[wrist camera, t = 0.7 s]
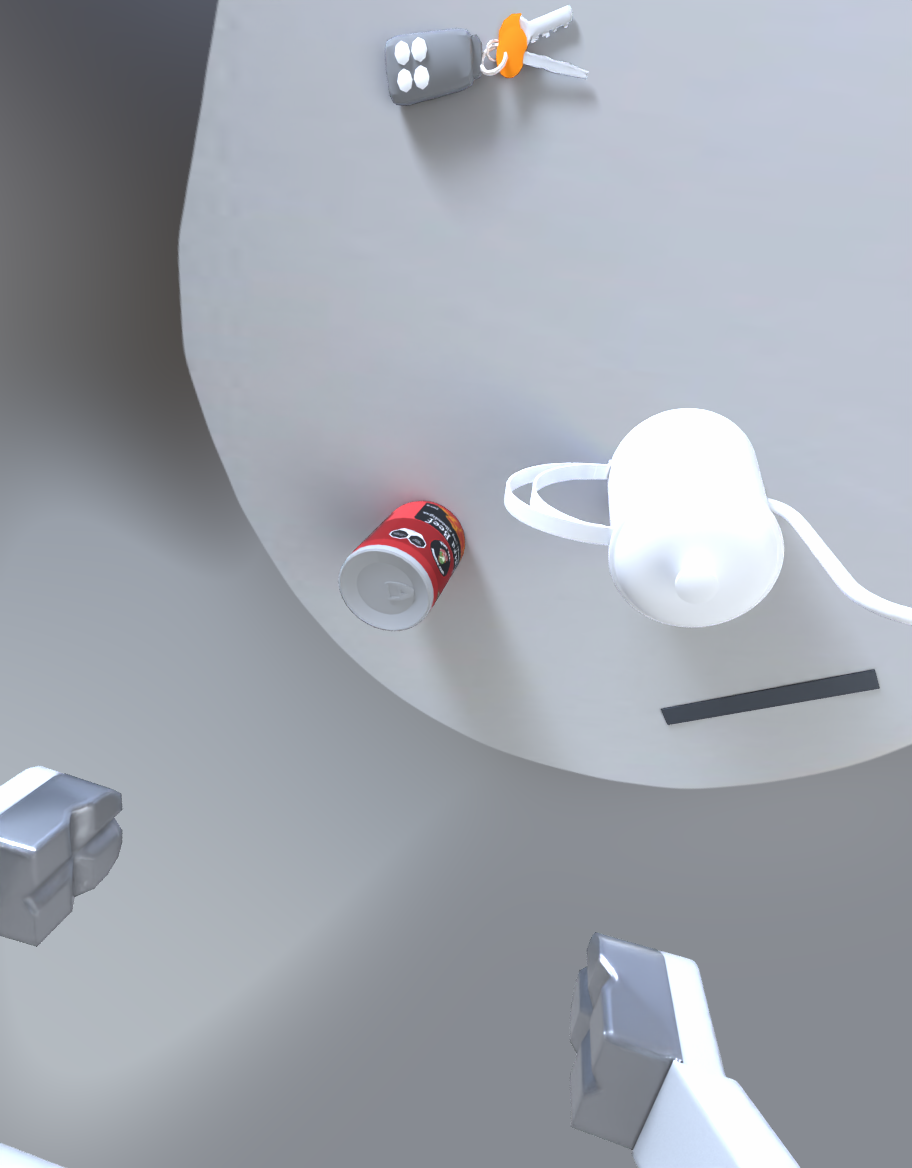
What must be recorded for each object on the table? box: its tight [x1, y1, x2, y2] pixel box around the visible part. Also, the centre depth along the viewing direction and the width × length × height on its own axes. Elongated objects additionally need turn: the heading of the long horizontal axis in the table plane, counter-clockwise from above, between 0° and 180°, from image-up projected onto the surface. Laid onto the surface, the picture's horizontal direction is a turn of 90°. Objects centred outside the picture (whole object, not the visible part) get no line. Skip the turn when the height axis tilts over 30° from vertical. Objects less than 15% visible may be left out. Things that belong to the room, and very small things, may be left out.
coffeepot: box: [504, 408, 912, 628], centre depth 38 cm, size 11×25×19 cm, turn 83°
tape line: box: [661, 670, 879, 725], centre depth 53 cm, size 18×2×1 cm, turn 117°
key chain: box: [385, 5, 588, 106], centre depth 36 cm, size 13×4×2 cm, turn 94°
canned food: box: [338, 501, 465, 631], centre depth 50 cm, size 8×8×11 cm
